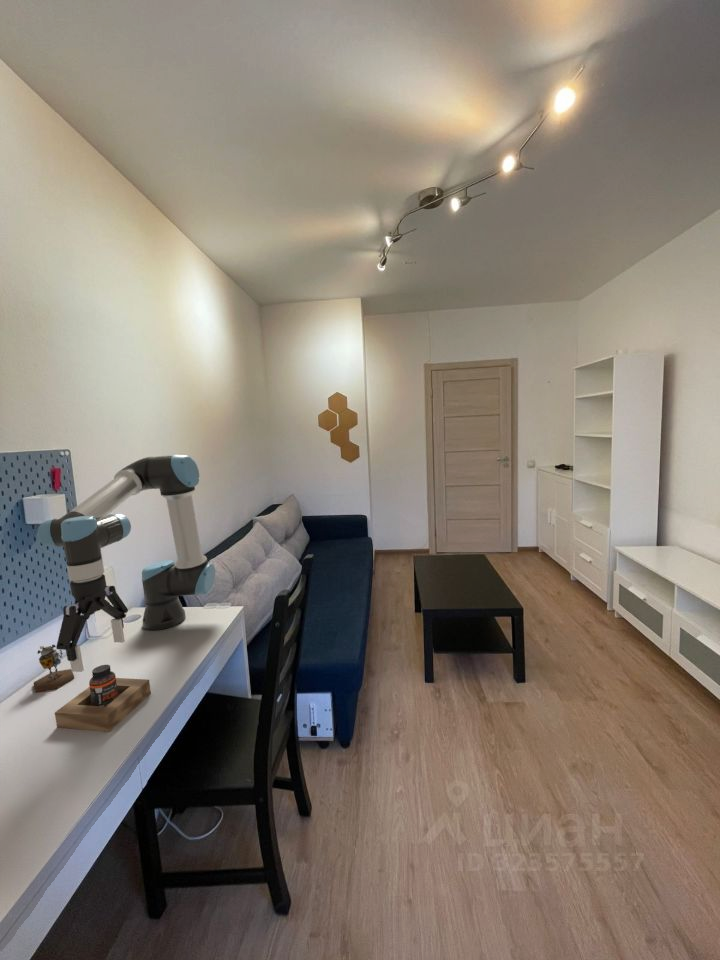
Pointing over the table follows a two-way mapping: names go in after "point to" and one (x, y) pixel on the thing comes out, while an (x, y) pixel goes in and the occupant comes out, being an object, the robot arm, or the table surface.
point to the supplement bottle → (103, 686)
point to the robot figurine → (53, 678)
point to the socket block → (103, 718)
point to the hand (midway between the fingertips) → (99, 655)
